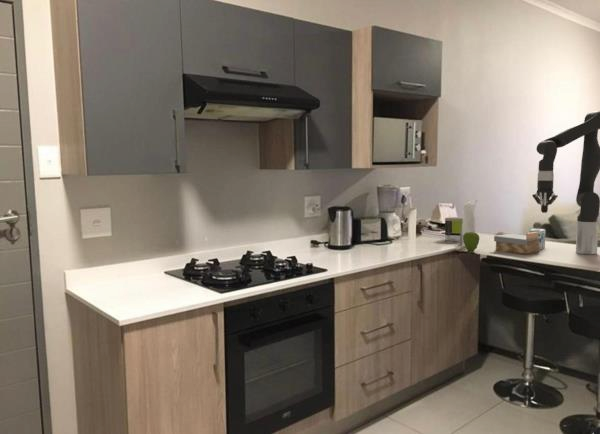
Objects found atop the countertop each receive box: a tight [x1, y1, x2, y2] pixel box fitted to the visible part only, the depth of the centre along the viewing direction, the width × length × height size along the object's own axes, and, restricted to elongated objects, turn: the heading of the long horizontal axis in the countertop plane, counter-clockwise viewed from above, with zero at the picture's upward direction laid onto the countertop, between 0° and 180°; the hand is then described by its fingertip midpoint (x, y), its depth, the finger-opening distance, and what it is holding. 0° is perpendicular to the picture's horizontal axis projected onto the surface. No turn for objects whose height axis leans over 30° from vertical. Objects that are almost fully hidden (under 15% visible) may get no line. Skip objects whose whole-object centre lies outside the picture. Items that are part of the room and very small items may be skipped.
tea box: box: [444, 216, 463, 242], centre depth 323 cm, size 15×10×15 cm, turn 58°
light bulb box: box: [528, 228, 547, 251], centre depth 291 cm, size 11×7×11 cm, turn 143°
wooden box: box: [495, 240, 540, 256], centre depth 281 cm, size 18×13×7 cm
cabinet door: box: [493, 232, 542, 245], centre depth 280 cm, size 19×15×6 cm
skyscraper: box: [459, 199, 478, 248], centre depth 299 cm, size 8×8×28 cm
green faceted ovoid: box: [463, 232, 480, 253], centre depth 282 cm, size 9×8×12 cm
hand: (544, 212), depth 267 cm, fingers closed
